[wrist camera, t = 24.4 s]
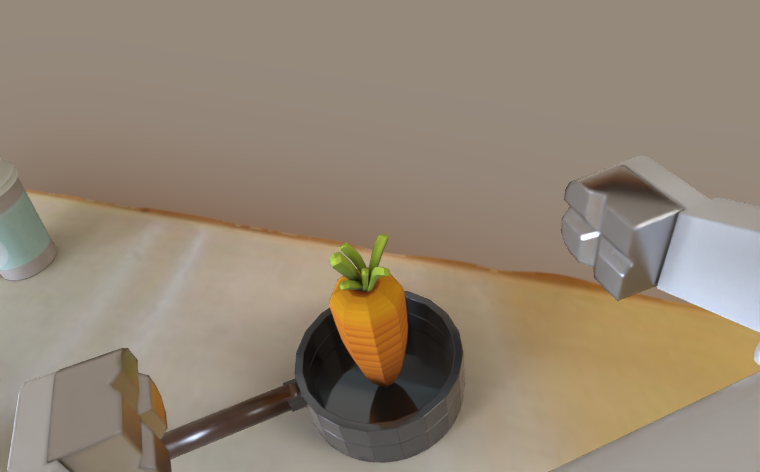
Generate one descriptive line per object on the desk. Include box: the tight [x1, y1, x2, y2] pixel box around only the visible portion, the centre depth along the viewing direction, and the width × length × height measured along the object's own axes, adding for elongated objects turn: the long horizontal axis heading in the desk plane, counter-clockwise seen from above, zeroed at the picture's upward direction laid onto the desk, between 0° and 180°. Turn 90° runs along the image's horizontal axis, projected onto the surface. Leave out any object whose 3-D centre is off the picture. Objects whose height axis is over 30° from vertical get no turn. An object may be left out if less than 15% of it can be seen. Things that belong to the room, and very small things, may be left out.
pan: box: [295, 291, 465, 462], centre depth 42 cm, size 12×12×4 cm
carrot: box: [329, 234, 408, 387], centre depth 38 cm, size 5×5×15 cm
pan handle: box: [161, 378, 310, 459], centre depth 39 cm, size 11×2×2 cm, turn 111°
